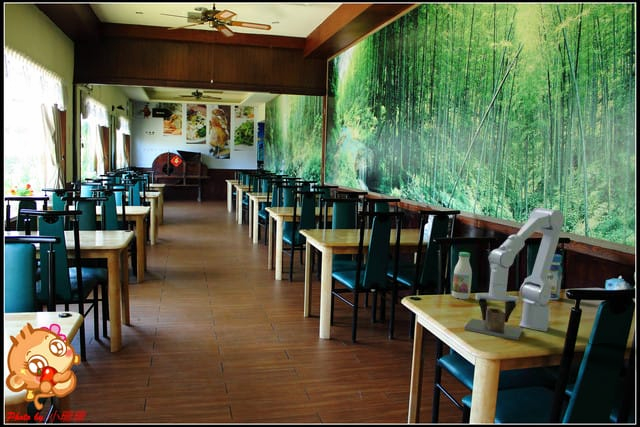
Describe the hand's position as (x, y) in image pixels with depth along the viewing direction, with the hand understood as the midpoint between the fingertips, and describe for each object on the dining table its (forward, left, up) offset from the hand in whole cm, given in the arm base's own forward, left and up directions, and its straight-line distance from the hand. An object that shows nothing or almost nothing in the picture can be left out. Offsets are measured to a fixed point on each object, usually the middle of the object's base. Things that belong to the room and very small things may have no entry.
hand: (494, 320), depth 187 cm
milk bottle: (+21, -40, -4) cm, 45 cm away
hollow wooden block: (0, 0, -2) cm, 2 cm away
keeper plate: (0, 0, -4) cm, 4 cm away
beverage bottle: (-13, -69, -4) cm, 70 cm away
